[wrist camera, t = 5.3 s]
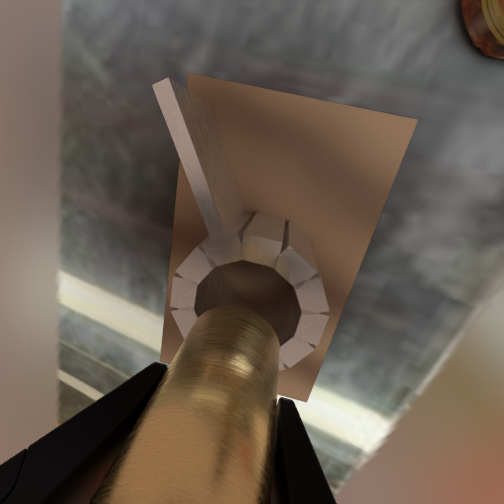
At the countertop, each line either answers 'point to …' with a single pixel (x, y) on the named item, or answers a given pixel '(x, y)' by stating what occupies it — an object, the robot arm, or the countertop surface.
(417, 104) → the countertop surface
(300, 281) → the hinge
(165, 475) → the hinge pin
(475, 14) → the sauce bottle
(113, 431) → the robot arm
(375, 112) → the walnut board
